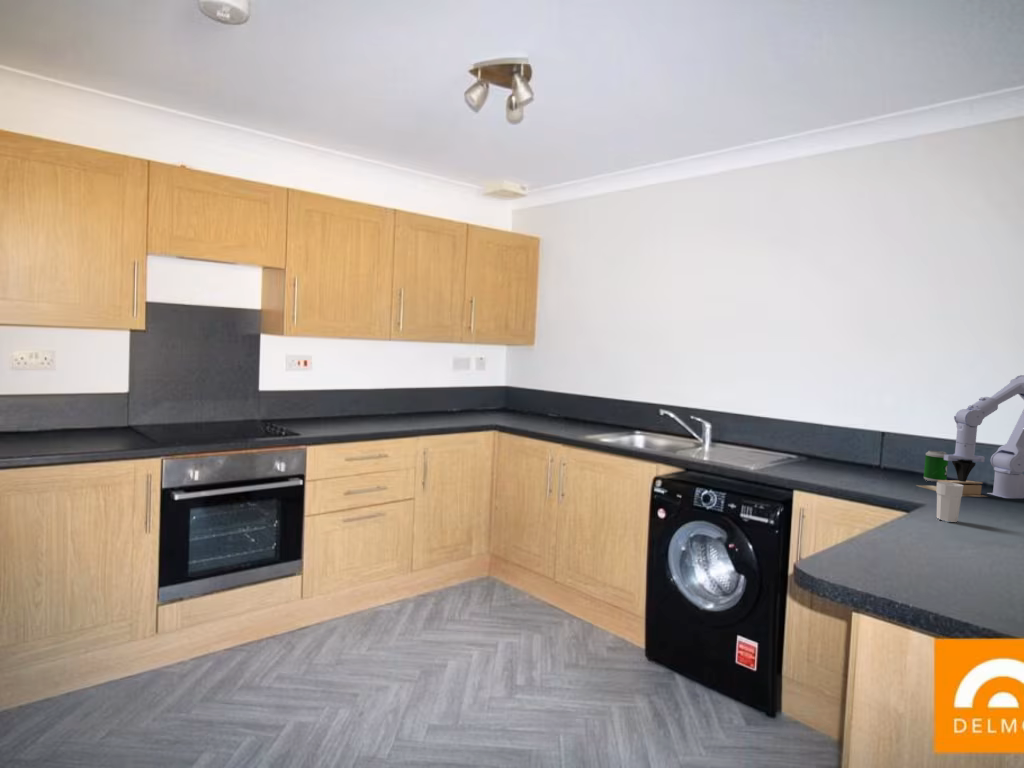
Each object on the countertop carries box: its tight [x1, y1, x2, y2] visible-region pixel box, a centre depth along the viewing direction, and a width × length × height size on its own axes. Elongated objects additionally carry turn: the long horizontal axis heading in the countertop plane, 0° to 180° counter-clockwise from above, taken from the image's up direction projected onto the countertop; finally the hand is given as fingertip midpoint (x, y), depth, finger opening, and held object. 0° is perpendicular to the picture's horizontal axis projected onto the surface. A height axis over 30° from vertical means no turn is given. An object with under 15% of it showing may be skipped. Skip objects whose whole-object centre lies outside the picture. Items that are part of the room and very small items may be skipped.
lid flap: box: [938, 479, 984, 485], centre depth 233 cm, size 12×6×1 cm, turn 99°
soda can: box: [923, 450, 949, 483], centre depth 256 cm, size 8×8×12 cm
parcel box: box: [938, 481, 983, 495], centre depth 233 cm, size 12×6×4 cm, turn 99°
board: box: [915, 484, 989, 498], centre depth 236 cm, size 14×17×1 cm
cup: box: [936, 482, 964, 523], centre depth 192 cm, size 7×7×11 cm
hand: (961, 481), depth 232 cm, fingers closed, pressing on lid flap
